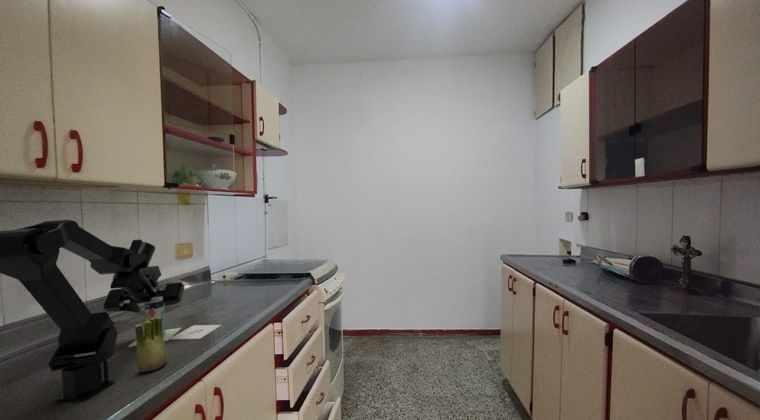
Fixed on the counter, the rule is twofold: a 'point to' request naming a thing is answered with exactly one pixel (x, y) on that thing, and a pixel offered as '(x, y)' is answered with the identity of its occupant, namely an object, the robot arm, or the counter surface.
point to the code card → (195, 332)
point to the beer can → (155, 310)
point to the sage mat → (166, 336)
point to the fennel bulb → (150, 345)
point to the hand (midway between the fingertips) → (157, 309)
